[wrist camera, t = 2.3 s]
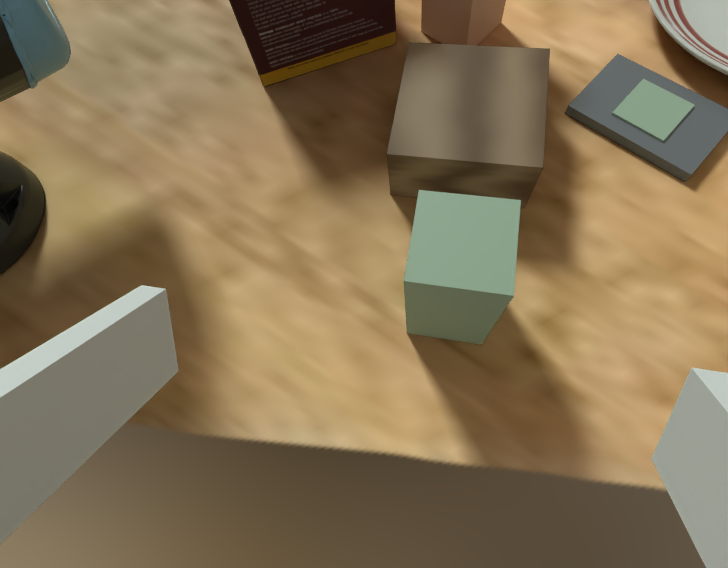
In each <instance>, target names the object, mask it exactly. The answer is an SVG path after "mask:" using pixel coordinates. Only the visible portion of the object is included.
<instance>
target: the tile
mask: <svg viewBox="0 0 728 568" xmlns="http://www.w3.org/2000/svg"><path fill="white" fill-rule="evenodd" d="M565 114H567V115H569V116H571V117H572V118H574V119H576V120H578V121H579V122H581V123H583V124H585V125H586V126H588V127H590V128H592V129H593V130H595V131H597V132H599V133H600V134H602V135H604V136H606V137H607V138H609V139H611V140H613V141H614V142H616V143H618V144H620V145H621V146H623V147H625V148H627V149H628V150H630V151H632V152H634V153H635V154H637V155H639V156H641V157H642V158H644V159H646V160H648V161H649V162H651V163H653V164H655V165H656V166H658V167H660V168H662V169H663V170H665V171H667V172H669V173H670V174H672V175H674V176H676V177H677V178H679V179H681V180H683V181H684V182H685V181H686V180H687V179H688V178H689V177H690V176H691V175H692V174H693V172H694V171H695V170H696V169H697V168H698V166H699V165H700V164H701V163H702V161H703V160H704V159H705V158H706V157H707V155H708V154H709V153H710V152H711V151H712V149H713V148H714V147H715V146H716V145H717V143H718V142H719V141H720V140H721V139H722V137H723V136H724V135H725V134H726V133H727V131H728V109H727V108H725V107H723V106H721V105H719V104H717V103H715V102H713V101H711V100H709V99H707V98H705V97H703V96H701V95H699V94H697V93H695V92H693V91H691V90H689V89H687V88H685V87H683V86H681V85H679V84H677V83H675V82H673V81H671V80H669V79H667V78H665V77H663V76H661V75H659V74H657V73H655V72H653V71H651V70H649V69H647V68H645V67H643V66H641V65H639V64H637V63H635V62H633V61H631V60H629V59H627V58H625V57H623V56H621V55H619V54H617V55H616V56H615V57H614V58H613V59H612V60H611V61H610V62H609V63H608V64H607V66H606V67H605V68H604V69H603V70H602V71H601V72H600V73H599V74H598V75H597V76H596V77H595V78H594V79H593V80H592V81H591V82H590V83H589V84H588V85H587V87H586V88H585V89H584V90H583V91H582V92H581V93H580V94H579V95H578V96H577V97H576V98H575V99H574V100H573V101H572V102H571V103H570V104H569V105H568V107H567V110H566V112H565Z"/></svg>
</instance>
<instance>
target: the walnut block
mask: <svg viewBox="0 0 728 568" xmlns="http://www.w3.org/2000/svg"><path fill="white" fill-rule="evenodd" d="M549 56H550V49H543V48H522V47H500V46H478V45H456V44H434V43H412V42H409V45H408V50H407V55H406V60H405V65H404V70H403V75H402V80H401V85H400V90H399V95H398V100H397V105H396V110H395V115H394V120H393V125H392V130H391V135H390V140H389V145H388V150H387V162H388V173H389V184H390V195H400V196H410V197H418V192H419V190H425V191H435V192H445V193H455V194H465V195H475V196H485V197H495V198H505V199H515V200H521V206H520V208H525V206H526V204H527V201H528V199H529V197H530V195H531V193H532V191H533V189H534V186H535V184H536V182H537V180H538V178H539V176H540V174H541V171H542V169H543V163H544V145H545V127H546V109H547V91H548V74H549Z"/></svg>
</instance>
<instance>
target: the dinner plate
mask: <svg viewBox="0 0 728 568" xmlns="http://www.w3.org/2000/svg"><path fill="white" fill-rule="evenodd" d="M649 3H650V5H651V8H652V10H653V12H654V14H655V16H656V17H657V19H658V21H659V22H660V24H661V25H662V26H663V28H664V29H665V30H666V32H667V33H668V34H669V35H670V36H671V37H672V38H673V39H674V40H675V41H676V42H677V43H678V44H679V45H680V46H681V47H682V48H684V49H685V50H686V51H687V52H689V53H690V54H691V55H693V56H694V57H695V58H697V59H698V60H700V61H702V62H703V63H705V64H707V65H708V66H710V67H712V68H714V69H716V70H718V71H720V72H721V73H723V74H725V75H728V0H649Z"/></svg>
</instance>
